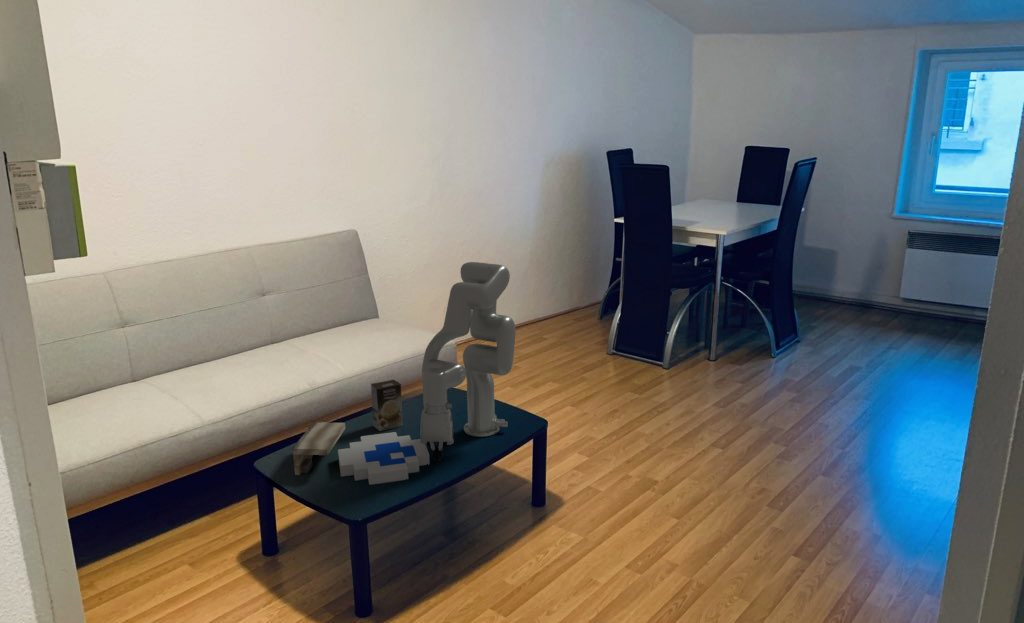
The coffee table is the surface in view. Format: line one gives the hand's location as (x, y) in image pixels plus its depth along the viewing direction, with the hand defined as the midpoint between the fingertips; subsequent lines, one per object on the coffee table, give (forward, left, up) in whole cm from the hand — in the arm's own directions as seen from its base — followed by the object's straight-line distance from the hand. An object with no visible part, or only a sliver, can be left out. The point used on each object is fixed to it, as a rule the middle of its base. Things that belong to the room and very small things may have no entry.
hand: (437, 459), depth 253 cm
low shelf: (+38, 0, -1) cm, 38 cm away
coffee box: (+23, -28, -1) cm, 36 cm away
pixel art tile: (+18, 0, -2) cm, 18 cm away
